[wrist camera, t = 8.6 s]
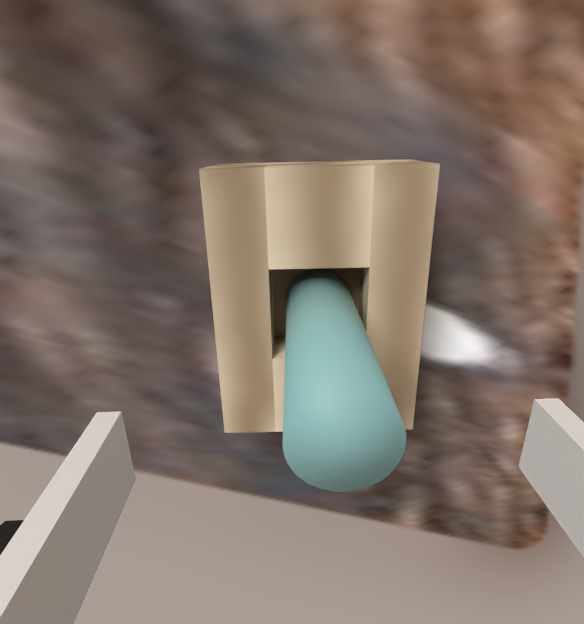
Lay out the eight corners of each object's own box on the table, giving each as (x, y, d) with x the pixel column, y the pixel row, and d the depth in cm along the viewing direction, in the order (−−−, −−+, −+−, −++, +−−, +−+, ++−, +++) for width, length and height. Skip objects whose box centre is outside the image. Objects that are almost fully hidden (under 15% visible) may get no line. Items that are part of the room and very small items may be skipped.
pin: (287, 328, 27) (284, 492, 14) (285, 268, 26) (280, 391, 13) (349, 327, 27) (401, 490, 14) (350, 267, 26) (411, 389, 13)
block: (236, 383, 33) (224, 432, 27) (218, 163, 27) (198, 169, 21) (391, 380, 33) (412, 429, 27) (408, 159, 27) (440, 163, 21)
